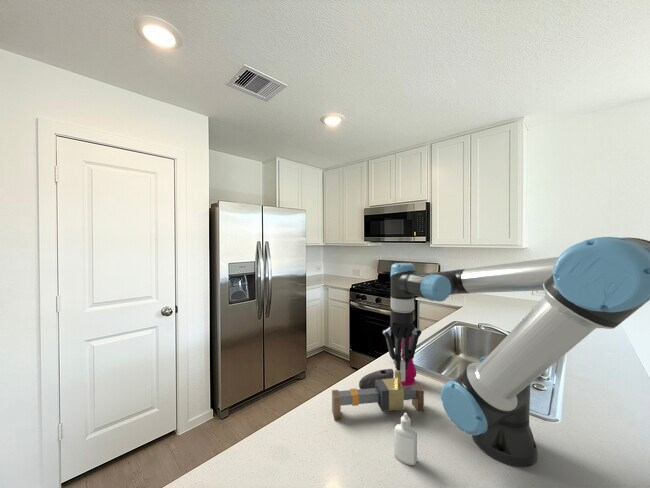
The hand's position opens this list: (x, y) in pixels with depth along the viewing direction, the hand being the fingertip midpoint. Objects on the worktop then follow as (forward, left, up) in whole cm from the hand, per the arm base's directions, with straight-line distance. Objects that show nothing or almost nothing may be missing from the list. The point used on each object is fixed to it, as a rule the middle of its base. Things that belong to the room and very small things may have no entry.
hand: (401, 379), depth 89 cm
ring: (0, +7, -8) cm, 11 cm away
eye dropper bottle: (-19, +7, -10) cm, 23 cm away
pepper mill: (+15, -9, -10) cm, 20 cm away
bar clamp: (0, +8, -10) cm, 13 cm away
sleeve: (0, +3, -8) cm, 9 cm away
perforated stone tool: (+12, +4, -10) cm, 16 cm away
